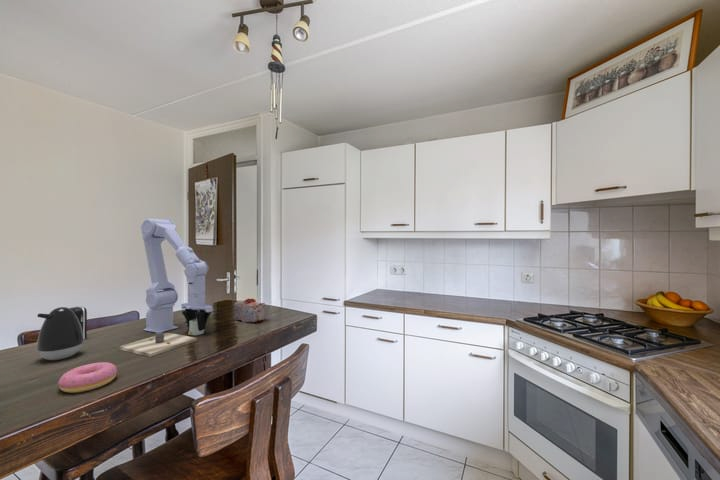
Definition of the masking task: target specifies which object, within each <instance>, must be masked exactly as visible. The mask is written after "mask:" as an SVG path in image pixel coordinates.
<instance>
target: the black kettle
mask: <svg viewBox="0 0 720 480" xmlns="http://www.w3.org/2000/svg"><path fill="white" fill-rule="evenodd" d="M70 308H71V307H66V306H61V307H57V308H54V309H53V310H51V311H50V312H49V313H38V314H37V318H41V319H45V320H44V321H43V323H42V325H41V328H40V330H39V333H38V337H37V342H36V351H38V354H39V355H40V357H42V358H43V359H45V360H47V361H59V360H60V361H61V360H63V359H68V358H70V357H73V356H75V355H76V354H77V353H78V352H79V351H80V350H81V347H82V345H83V343H84V342H85V339H84V337H83V331H82V327H81V324H80V322H79V320H78V318H77V316H76V315H75V313H74V312H73V311H72V310H71V309H70Z"/></svg>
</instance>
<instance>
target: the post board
mask: <svg viewBox="0 0 720 480" xmlns="http://www.w3.org/2000/svg"><path fill="white" fill-rule="evenodd" d="M195 342H198V337H194V336H190V335H189V336H188V335H183V334H178V333H172V332H165V331H164V332H159V333H156V332H155V335H154V336H150V337H146V338H144V339H141V340H136V341H133V342H130V343H126V344H122V345H119V346H118V350H120V351H125V352H128V353H133V354H137V355H141V356H144V357H149V358H151V357H153V356H156V355H160V354H163V353H166V352H168V351H172V350H175V349H177V348H181V347H184V346H186V345H190V344H192V343H195Z"/></svg>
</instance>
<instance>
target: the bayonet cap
mask: <svg viewBox="0 0 720 480" xmlns="http://www.w3.org/2000/svg"><path fill="white" fill-rule="evenodd" d="M188 329H189V331H187V335H189V336H199V335H202V334H204V333H205V331H206V328H205V329H204V330H201V331H199V330H198V322H197V318H196V319H193V320H190V321H189V328H188Z"/></svg>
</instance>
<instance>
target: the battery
mask: <svg viewBox="0 0 720 480" xmlns="http://www.w3.org/2000/svg"><path fill="white" fill-rule="evenodd" d="M69 308H70V309H71V310H72V311H73V312H74V313H75V315H76V316H77V318H78V320H79V322H80V324H81V327H82V331H83V337H84V340H85V339H87V338H88V335H87V333H88V332H87V331H88V330H87V328H88V326H87V325H88V315H87V314H88V312H87V308H86V307H84V306H75V307H69Z"/></svg>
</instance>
